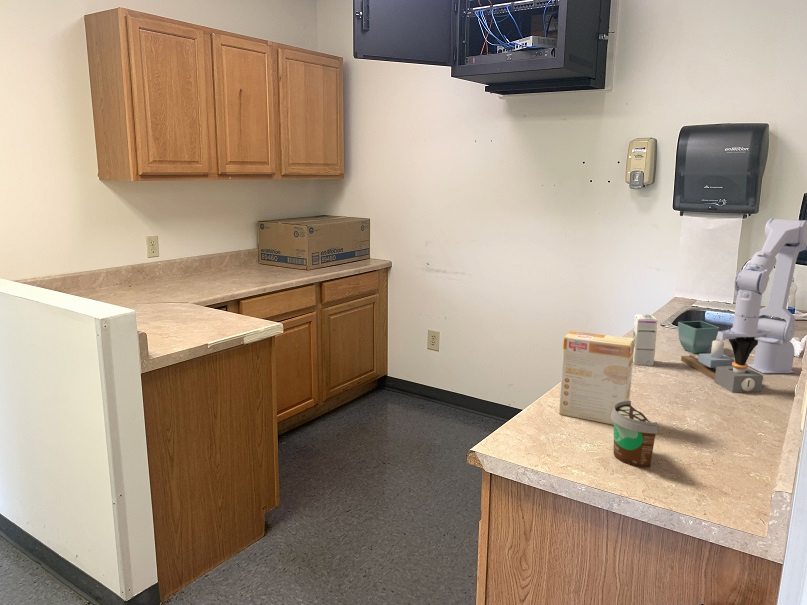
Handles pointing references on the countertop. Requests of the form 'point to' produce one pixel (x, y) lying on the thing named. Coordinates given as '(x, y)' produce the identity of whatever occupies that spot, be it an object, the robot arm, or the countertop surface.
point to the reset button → (739, 368)
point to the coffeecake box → (595, 375)
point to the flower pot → (697, 336)
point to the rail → (698, 365)
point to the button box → (738, 379)
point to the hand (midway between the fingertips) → (740, 364)
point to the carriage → (716, 356)
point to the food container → (633, 435)
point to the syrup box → (644, 339)
